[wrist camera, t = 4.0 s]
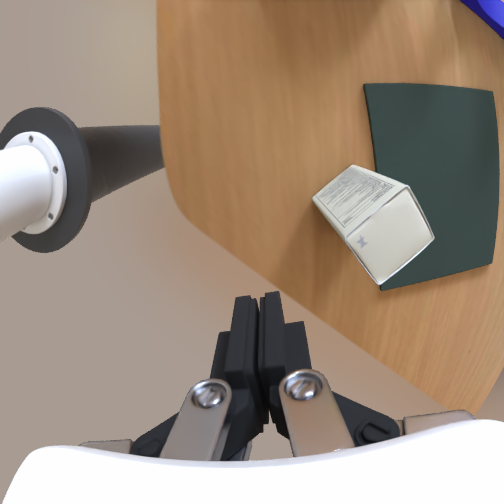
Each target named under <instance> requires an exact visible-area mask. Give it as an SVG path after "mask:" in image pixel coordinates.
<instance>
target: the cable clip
mask: <svg viewBox="0 0 504 504" xmlns="http://www.w3.org/2000/svg"><path fill="white" fill-rule="evenodd" d="M460 1H461V2H463V3H464V4H465V5H466V6H468V7H469V8H470V9H471V10H472V11H474V12H475V13H476V14H477V15H478V16H479V17H481V18H482V19H483V20H484V21H485V22H486V23H487V24H488V25H489V26H490V27H492V28H493V29H494V30H495V31H496V32H497V33H498V34H499V35H500V36H501V37H502V38H503V39H504V2H502V1H501V0H460Z"/></svg>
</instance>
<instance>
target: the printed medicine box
mask: <svg viewBox="0 0 504 504" xmlns="http://www.w3.org/2000/svg"><path fill="white" fill-rule="evenodd" d="M312 201H313V202H314V203H315V205H316V206H317V207H318V209H319V210H320V211H321V213H322V214H323V215H324V217H325V218H326V219H327V221H328V222H329V223H330V224H331V226H332V227H333V228H334V230H335V231H336V232H337V233H338V235H339V236H340V237H341V238H342V240H343V241H344V242H345V244H346V245H347V246H348V248H349V249H350V250H351V252H352V253H353V254H354V255H355V257H356V258H357V259H358V261H359V262H360V263H361V265H362V266H363V267H364V269H365V270H366V271H367V272H368V274H369V275H370V276H371V278H372V279H373V280H374V281H375V282H376V284H377V285H380V284H382V283H384V282H385V281H386V280H387V279H389V278H390V277H391V276H393V275H394V274H395V273H397V272H398V271H399V270H400V269H401V268H403V267H404V266H405V265H406V264H407V263H409V262H410V261H411V260H412V259H413V258H415V257H416V256H417V255H418V254H419V253H420V252H421V251H423V250H424V249H425V248H426V247H427V246H428V245H429V244H430V243H431V242H432V241H433V240H434V235H433V233H432V231H431V228H430V226H429V224H428V222H427V219H426V217H425V215H424V213H423V211H422V209H421V207H420V205H419V203H418V201H417V199H416V198H415V196H414V194H413V192H412V191H411V189H410V187H409V186H408V185H405V184H403V183H401V182H398V181H396V180H393V179H391V178H388V177H386V176H383V175H381V174H378V173H375V172H373V171H370V170H367V169H365V168H362V167H359V166H356V165H351V166H350V167H349V168H347V169H346V170H345V171H343V172H342V173H341V174H340V175H338V176H337V177H336V178H335V179H333V180H332V181H331V182H330V183H329V184H327V185H326V186H325V187H324V188H323V189H322V190H320V191H319V192H318V193H317V194H316V195H315V196H314V197H312Z"/></svg>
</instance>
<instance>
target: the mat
mask: <svg viewBox="0 0 504 504" xmlns="http://www.w3.org/2000/svg"><path fill="white" fill-rule="evenodd" d="M363 87H364V92H365V97H366V103H367V108H368V114H369V121H370V127H371V134H372V142H373V150H374V158H375V168H376V173H378V174H381V175H383V176H386V177H388V178H391V179H393V180H396V181H398V182H401V183H403V184H405V185H408V186H409V187H410V189H411V191H412V192H413V194H414V196H415V198H416V199H417V201H418V203H419V205H420V207H421V209H422V211H423V213H424V215H425V217H426V219H427V222H428V224H429V226H430V228H431V231H432V233H433V235H434V240H433V241H432V242H431V243H430V244H429V245H428V246H427V247H426V248H425V249H424V250H423V251H421V252H420V253H419V254H418V255H417V256H416V257H415V258H413V259H412V260H411V261H410V262H409V263H407V264H406V265H405V266H404V267H403V268H401V269H400V270H399V271H398V272H397V273H395V274H394V275H393V276H391V277H390V278H389V279H387V280H386V281H385V282H384V283H382V284H380V290H381V291H384V290H388V289H393V288H397V287H402V286H406V285H411V284H415V283H419V282H423V281H427V280H432V279H436V278H440V277H444V276H447V275H451V274H455V273H459V272H463V271H466V270H470V269H474V268H477V267H481V266H484V265H488V264H491V263H492V261H493V254H494V247H495V239H496V230H497V220H498V206H499V143H498V129H497V119H496V110H495V103H494V96H493V92H492V91H486V90H479V89H472V88H464V87H454V86H443V85H429V84H404V83H374V84H363Z"/></svg>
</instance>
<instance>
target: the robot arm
mask: <svg viewBox="0 0 504 504" xmlns="http://www.w3.org/2000/svg"><path fill="white" fill-rule="evenodd" d="M66 195H67V178H66V171H65V166H64V163H63V160H62V157H61V154H60V153H59V151H58V149H57V147H56V146H55V144H54V143H53V142H52V141H51V140H50V139H49V138H48V137H47V136H45V135H43V134H41V133H39V132H33V131H31V132H24V133H21V134H18V135H17V136H15V137H14V138H12V139H11V140H10V141H9V142H8V144H7V145H6V147H5V148H4V150H0V243H1V242H2V241H4V240H5V239H7V238H9V237H10V236H12V235H14V234H15V233H17V232H19V231H20V230H21V231H23V232H25V233H28V234H39V233H42V232H44V231H46V230H47V229H49V228H50V227H52V226H53V225H54V224H55V223H56V222H57V221H58V219H59V217H60V215H61V214H62V211H63V208H64V205H65V200H66ZM269 411H270V415H271V418H272V422H273V423H275V424H276V428H277V432H278V433H280V434H281V435H282V436H284V437H286V438H287V439H289V441H290V445H291V449H292V453H293V458H283V459H271V460H256V461H249V456H250V452H251V448H252V439H253V438H254V437H256V436H257V435H258V434H259V433H263V424H268V423H269ZM2 504H504V423H503V422H500V421H495V420H476V419H475V417H474V416H473V415H472V414H471V413H470V412H468V411H465V410H453V411H447V412H440V413H433V414H425V415H417V416H407V417H404V418H403V420H393V419H392V418H390V417H388V416H386V415H384V414H381V413H379V412H377V411H374V410H372V409H370V408H368V407H365V406H363V405H361V404H359V403H356V402H354V401H352V400H350V399H348V398H346V397H343V396H341V395H339V394H337V393H335V392H333V391H331V388H330V386H329V384H328V381H327V379H326V378H325V377H324V375H323V374H322V373H320V372H318V371H315V370H313V369H312V367H311V361H310V355H309V349H308V343H307V338H306V332H305V326H304V322H303V321H300V322H293V323H287V324H285V323H284V316H283V310H282V304H281V298H280V293H279V291H276V292H270V293H265V297H261V298H260V313H259V308H258V304H257V300H256V298H254V299H251V297H250V295H249V296H241V297H236V299H235V305H234V311H233V317H232V324H231V330H230V331H225V332H220V333H219V335H218V340H217V345H216V350H215V355H214V360H213V365H212V370H211V375H210V379H206V380H203V381H200V382H198V383H197V384H195V385H194V386H193V387H192V388H191V389H190V390H189V392H188V393H187V396H186V398H185V400H184V402H183V405H182V407H181V409H180V411H179V412H178V413H177V414H175V415H173V416H172V417H170V418H169V419H167V420H166V421H164V422H163V423H161V424H160V425H158V426H157V427H155V428H153V429H152V430H150V431H148V432H147V433H145V434H143V435H142V436H140V437H139V438H138V439H137V440H136V441H134V442H133V441H132V440H131V439H125V440H111V441H88V442H84V443H82V444H80V445H78V446H71V445H56V446H49V447H43V448H39V449H37V450H35V451H33V452H31V453H30V454H29V455H28V456H27V457H26V459H25V460H24V461H23V463H22V464H21V466H20V468H19V469H18V471H17V473H16V475H15V477H14V478H13V480H12V483H11V485H10V487H9V489H8V492H7V493H6V496H5V498H4V501H3V503H2Z"/></svg>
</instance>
